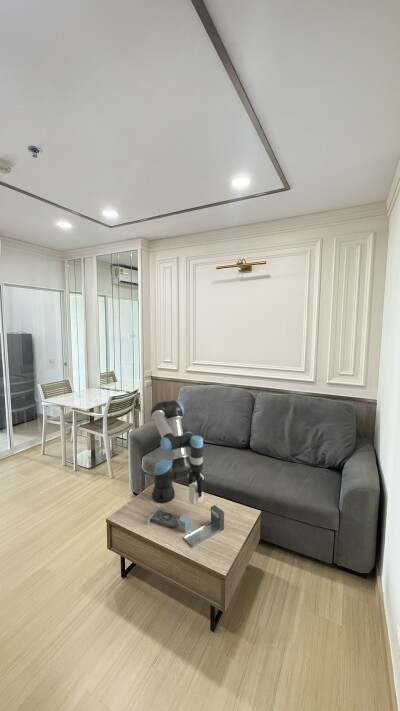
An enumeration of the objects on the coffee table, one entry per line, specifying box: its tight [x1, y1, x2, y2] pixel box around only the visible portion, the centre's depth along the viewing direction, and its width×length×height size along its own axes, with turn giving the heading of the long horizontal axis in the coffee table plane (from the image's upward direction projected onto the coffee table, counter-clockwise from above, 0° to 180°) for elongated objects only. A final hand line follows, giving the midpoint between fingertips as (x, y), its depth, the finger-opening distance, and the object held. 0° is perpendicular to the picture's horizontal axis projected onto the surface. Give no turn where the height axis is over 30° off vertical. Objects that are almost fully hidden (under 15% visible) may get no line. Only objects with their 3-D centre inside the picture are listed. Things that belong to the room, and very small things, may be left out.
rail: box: [183, 504, 225, 549], centre depth 158 cm, size 8×22×10 cm, turn 128°
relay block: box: [178, 514, 192, 534], centre depth 162 cm, size 5×5×6 cm
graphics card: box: [146, 507, 181, 528], centre depth 168 cm, size 17×4×12 cm
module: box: [188, 481, 204, 505], centre depth 172 cm, size 5×7×10 cm
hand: (196, 498), depth 173 cm, fingers closed on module, 5 cm apart
